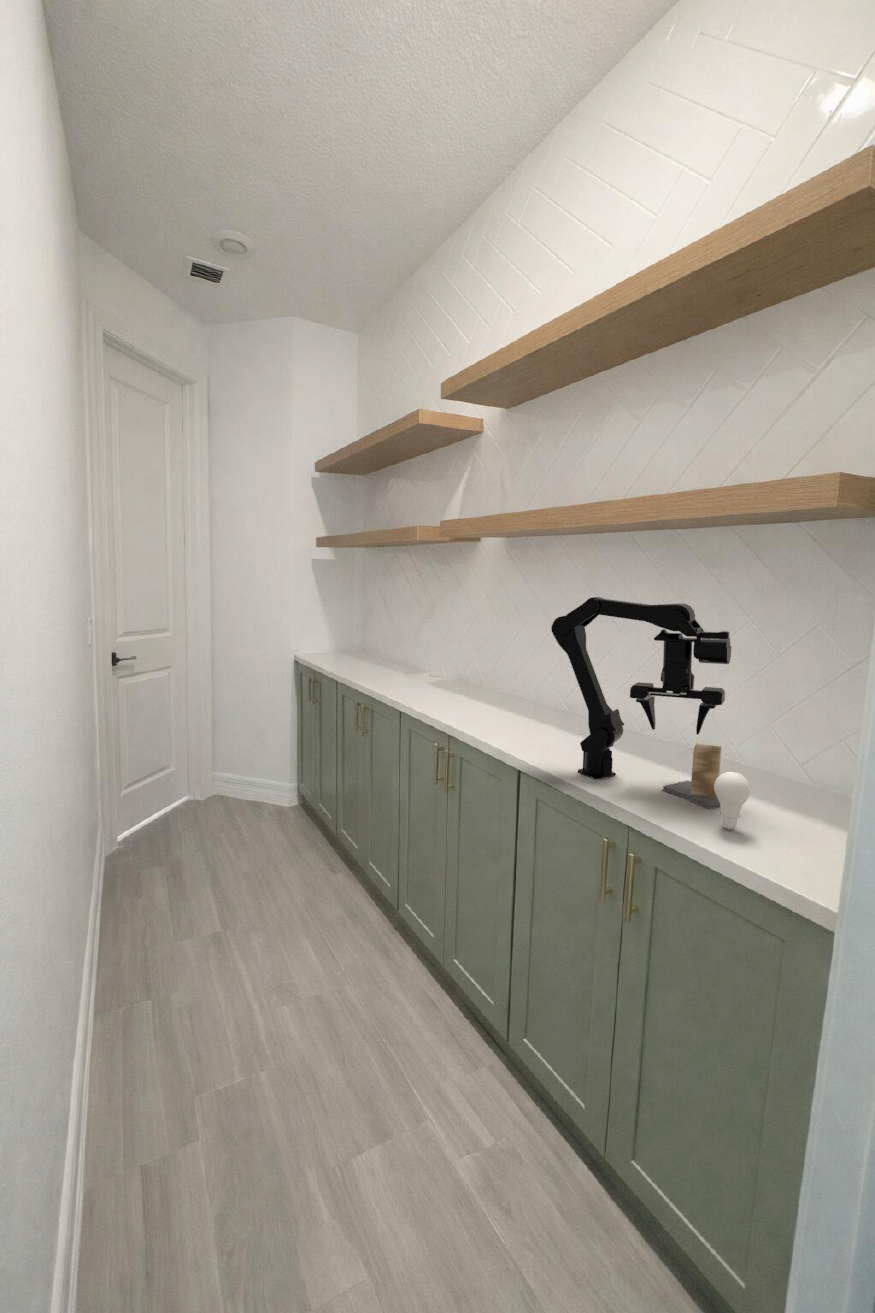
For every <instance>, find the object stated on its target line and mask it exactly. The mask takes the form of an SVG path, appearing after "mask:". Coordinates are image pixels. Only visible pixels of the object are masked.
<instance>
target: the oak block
mask: <svg viewBox="0 0 875 1313" xmlns="http://www.w3.org/2000/svg"><path fill="white" fill-rule="evenodd" d="M721 758H722V746H719V745H712V744H705V743H698V742H696V743H695V745H694V748H693V752H692V767H691V780H690V781H691V793H690V794H692V795H697V796H703V797H709V798H715V799H716V797H717V796H716V793H715V790H714V784H715V781H716V779H717V778H718V777H719V776H720V770H721V769H720V768H721Z"/></svg>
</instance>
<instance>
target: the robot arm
mask: <svg viewBox="0 0 875 1313" xmlns="http://www.w3.org/2000/svg"><path fill="white" fill-rule="evenodd" d="M598 616H604V617H605V616H606V617H613V618H618V619H619V618H621V619H626V620H634V621H640V622H646V623H649V624H652V625H653V626H656V627H659V628H662V629H661V630H660V632H659V633H658V634H657V635H655V637H654V638H653V640H654V641H657V642H659V641H661V642H663V657H662V658H663V660H662V666H663V667H662V669H661V673H660V681H661V683H662V687H657V686H656V687H655V686H654V683H651V682H636V683H634V684H633V685H632V686H631V687H630V690H629V698H631V699H636V700H635V702H636V703H639V704H640V705H641V707H642V709H643V711H644V713H645V714H646V716H647V720H648V722H649V724H650V727H651V730H653V731H654V730H655V729H656V710H655V700H656V697H667V698H668V697H669V698H680V699H693V700H700V701H701V703H700V704H699V705H698V706H699V707H698V714H697V720H696V721H697V722H696V726H695V727H696V729H695V730H696V731H695V732H696V735H700V732H701V730H702V727H703V725H704V723H705V720H706V717H707V715H708V714H709V712H710V710H711V709H712V710H713V709H715V708H716V707H717V706H722V705H723V704H724V702H725V700H726V696H725V695H726V691H725V690H724V688H722V687H711V686H710V687H709V686H705V687H704V688H702V690H698V689H697V690H695V689H694V685H695V674H694V673H693V672H692V659H693V657H694V659H695V660H698V662H699V663H701V664H717V665H729V664H730V662H731V657H732V646H731V638H730V631H725V630H723V631H722V630H721V631H705V630H704V629H703V628H702V626H701V625H700V623H699V622H698V621H697V620H696V613H695V610H694V609H693V607H692V606H691V605H689V604H687V603H663V604H661V603H659V604H648V603H639V602H633V601H632V602H631V601H624V600H618V599H617V600H616V599H610V598H604V597H600V596H596V597H595V596H593V597H589V598H587V600H586V601H584V602H583V603H582V604H581V605H579V606H578V607H576V608H574V609H573V610H571V611H570V612H569V613H567V614H566V615H563V616H561V615H560V616H558V617H557V618H555V619H554V621H553V622H552V625H551V633H552V635H553V637H554V639H555V640H556V642H557V644H558V646H559V647H561V650H563V651H564V652H565V653H566V654H567V657H568V659H569V663H570V664H571V665H570V666H571V668H572V670H573V672H574V673H573V674H574V676H575V679H576V681H577V683H578V686H579V689H580V692H581V694H582V697H583V700H584V702H585V705H586V708H587V712H588V714H587V716H588V719H587V722H588V724H587V725H588V730H589V735H588V736H587V737H585V738H584V739H583V740H582V741H580V743H579V745H580V748H581V749H580V750H581V751H582V753H583V755H582V768H579V769H577V772H578V773H580V774H583V775H585V776H587V777H589V778H591V779H594V780H599V779H605V778H609V777H613V776H616V775H617V774H616V772H613V759H614V758H613V750H611V749H610V748H612V747H613V746H614V744H615V743H616V742H618V741H619V740H620V739H621V738H622V736H623V733H624V727H623V726H625V723H624V722H623V720H622V718H621V715H620V714H621V713H620V710H619V709H618V708H616V709H615V710H613V709H612V708H611V707H610V706H609V705H608V703H607V701H606V698H605V696H604V692H603V691H602V688H601V684H600V682H599V680H598V676H597V674H596V671H595V669H594V666H593V664H592V660H591V657H590V655H589V653H588V650H587V631H586V627H587V626H588V625H590V624H591V623H592V622H593V621H594V620H595V619H596V618H598ZM667 630H668V631H667ZM669 631H672V632H669ZM678 632H679V633H678ZM684 636H686V637H684ZM692 654H693V655H692ZM692 656H693V657H692Z"/></svg>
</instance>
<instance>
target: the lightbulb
mask: <svg viewBox="0 0 875 1313" xmlns="http://www.w3.org/2000/svg"><path fill="white" fill-rule="evenodd" d="M714 790H715V793H716V796H717V798H718V800H719V802H720V814H721V825H722V827H724V828H725V829H727V830H733V829H735V828H737V826H738V819H739V817H740V813H741V810H742V807H743V806H744V804H745V803H746V802H747V801H748V800H749V797H750V796H751V786H750V782H749V781H748V779H747V778H746V777H745V776H744V775H742V774H740V773H739V772H736V771H728V772H726V771H725V772H723V773H721V774H719V777H718V778H717V779H716V781H715V784H714Z"/></svg>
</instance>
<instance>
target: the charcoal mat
mask: <svg viewBox="0 0 875 1313" xmlns="http://www.w3.org/2000/svg"><path fill="white" fill-rule="evenodd" d="M662 790H663V791H664V792H667V793H669V794H671V795H673V796H675V797H676V796H677V797H679V798H681V799H685V800H686V801H689V802H692V803H695V804H697V805H700V806H702V807H704V808H708V809H710V810H712V809H715V808H721V806H720V802H719V800H718V798H717V797H716V799H715V798H709V797H703V796H697V795H692V794H690V793H691V780H683V781H678V782H675V783H671V784H666V785H663V789H662Z"/></svg>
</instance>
